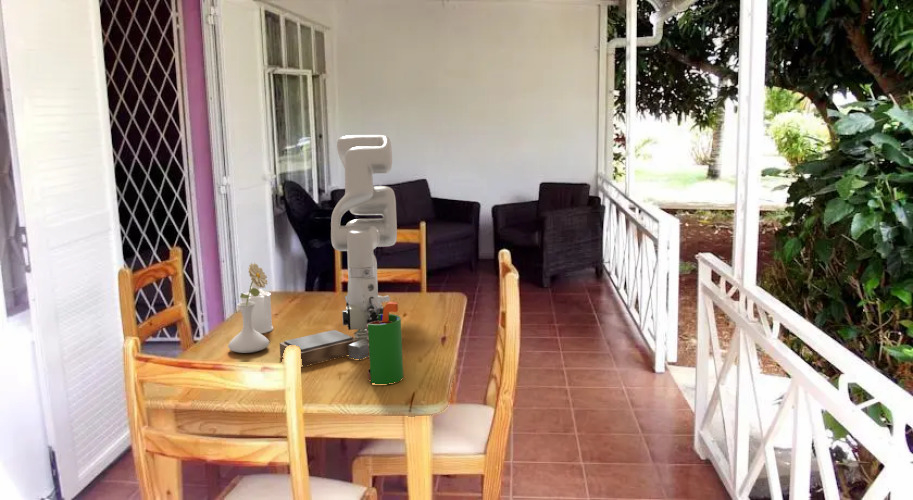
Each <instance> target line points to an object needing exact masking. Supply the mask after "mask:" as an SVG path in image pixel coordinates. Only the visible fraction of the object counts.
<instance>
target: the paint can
mask: <svg viewBox="0 0 913 500" xmlns="http://www.w3.org/2000/svg"><path fill="white" fill-rule="evenodd" d="M251 283H252V281H251ZM251 283H250V284H251ZM252 288H256V289H257V290H259V292H260V293H259V295H258V296H253V295H252V294H251V293H250V297H249V299H248V301H251V302H255V305H254V306H253V309H252V313H251V322H252V327H253V329H254V330H256V331H257V332H259V333H260V334H262V335H263V334H267V333H270V332H272V331H273V330H274V326H273V320H272V304H271V296H272V293H271V292H269V291H264V289H263V288H262V287H261V288H260V287H259V286H258V287H257V286H256V284H254V282H253V283H252V286H251V289H252ZM243 294H245V295H248V294H249V291H248V292H245V293H243ZM239 298H240V300H241V302H247V298H241V297H239Z"/></svg>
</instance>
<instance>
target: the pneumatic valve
mask: <svg viewBox="0 0 913 500" xmlns="http://www.w3.org/2000/svg"><path fill="white" fill-rule="evenodd" d="M346 307H347V309H346V308H345V310H342V311H341V312H342V313H341V314H342V325H343V326H346V327H347V328H348V329H347V330H348V331H351V330H353V331H354V330H356V331H355V332H354V334H353V335H354V337H353V338H356V339H358V341H359V340H362V339H363V340H367V338H368V335H367V320H368V317H367V315H366V312H362V311H360V309H359V308H356V307H354V306H351V305H347V306H346ZM368 309H371V308H368ZM383 311H384V308H383V309H382V308H380V312H379V314H383ZM370 314H372V312H370ZM377 321H378V318H377Z"/></svg>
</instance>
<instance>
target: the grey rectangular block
mask: <svg viewBox="0 0 913 500" xmlns="http://www.w3.org/2000/svg"><path fill="white" fill-rule="evenodd" d="M368 344H369V342H368V340H363V339H362V340H359V341H357V342H354V343H352V344H349V345H348V353H349V356H348V359H349V358H354V359H359V360H360V359H363V358H365V357H367V358H369V357H368V356H369V355H368V350H369V349H368ZM354 359H353V360H354ZM365 359H366V358H365ZM363 360H364V359H363Z"/></svg>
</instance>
